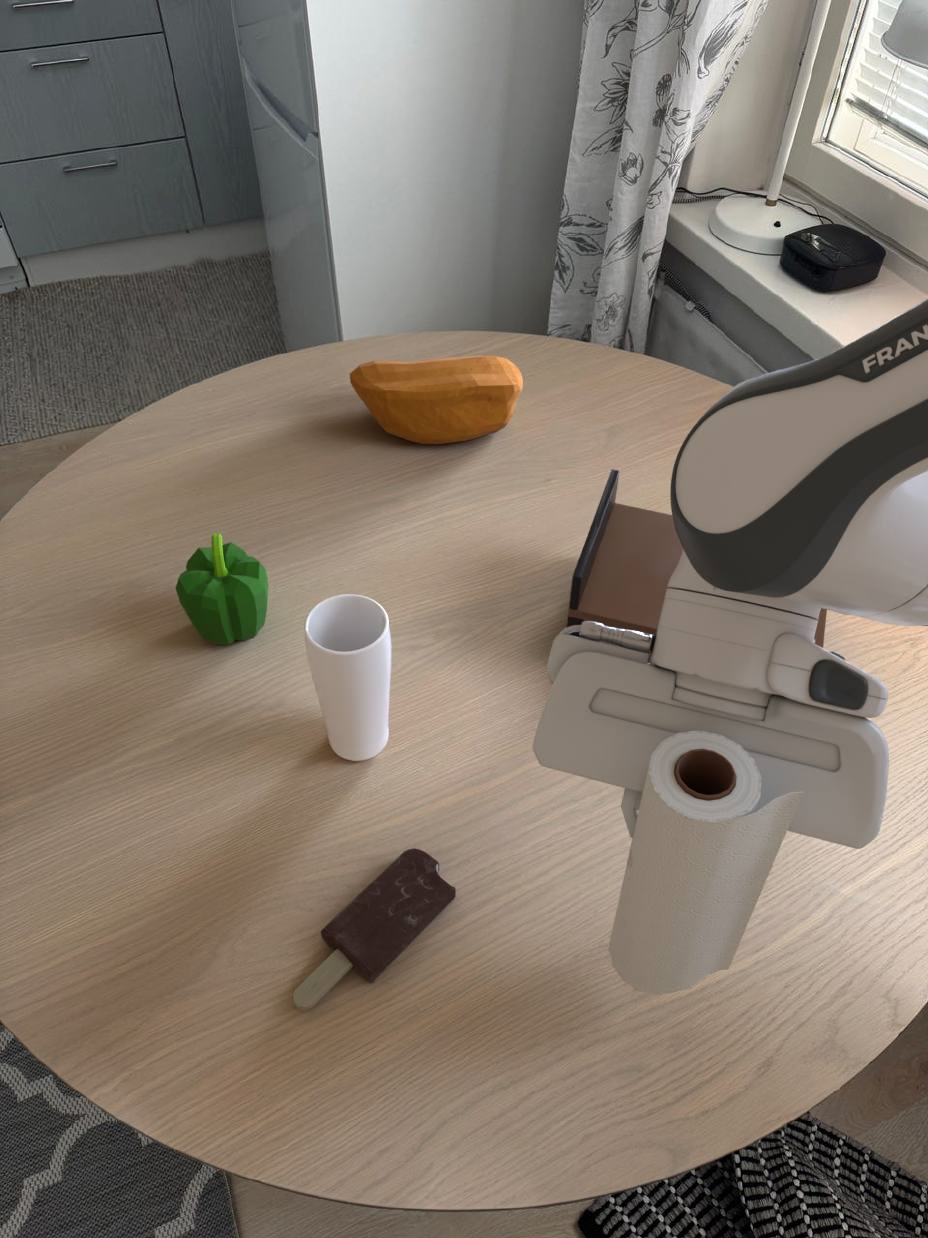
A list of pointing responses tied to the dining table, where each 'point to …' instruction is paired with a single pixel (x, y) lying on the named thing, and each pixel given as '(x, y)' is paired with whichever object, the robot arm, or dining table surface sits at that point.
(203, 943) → the dining table surface
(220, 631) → the bell pepper
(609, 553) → the rack
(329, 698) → the drinking glass
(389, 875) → the ice cream bar
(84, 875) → the dining table surface
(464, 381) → the bread
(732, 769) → the paper towel roll
